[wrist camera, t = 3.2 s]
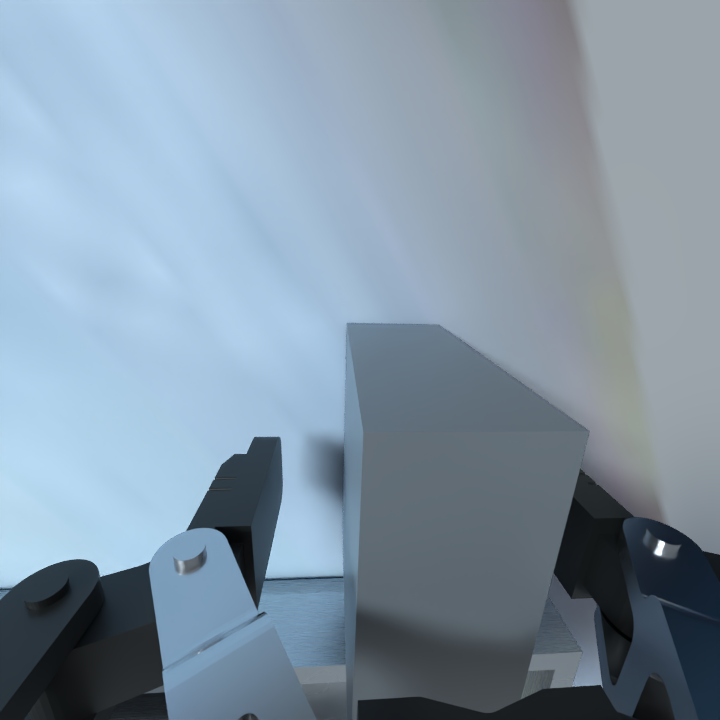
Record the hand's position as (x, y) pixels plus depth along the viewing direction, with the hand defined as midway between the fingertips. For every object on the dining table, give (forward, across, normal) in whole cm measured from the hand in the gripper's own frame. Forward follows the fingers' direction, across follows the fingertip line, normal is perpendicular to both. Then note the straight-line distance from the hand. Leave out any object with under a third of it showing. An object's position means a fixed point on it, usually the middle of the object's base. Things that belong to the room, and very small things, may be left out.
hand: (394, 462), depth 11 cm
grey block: (+2, 0, 0) cm, 2 cm away
